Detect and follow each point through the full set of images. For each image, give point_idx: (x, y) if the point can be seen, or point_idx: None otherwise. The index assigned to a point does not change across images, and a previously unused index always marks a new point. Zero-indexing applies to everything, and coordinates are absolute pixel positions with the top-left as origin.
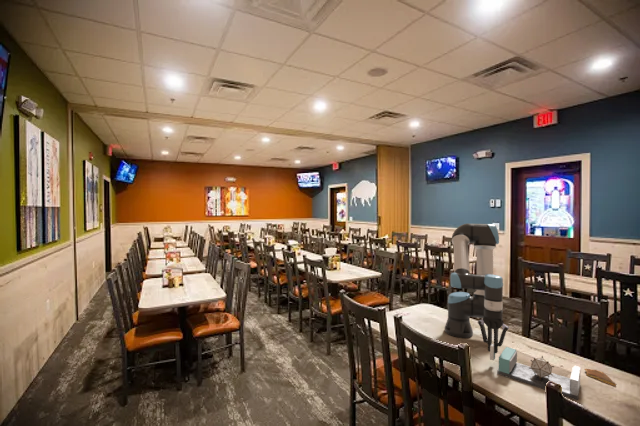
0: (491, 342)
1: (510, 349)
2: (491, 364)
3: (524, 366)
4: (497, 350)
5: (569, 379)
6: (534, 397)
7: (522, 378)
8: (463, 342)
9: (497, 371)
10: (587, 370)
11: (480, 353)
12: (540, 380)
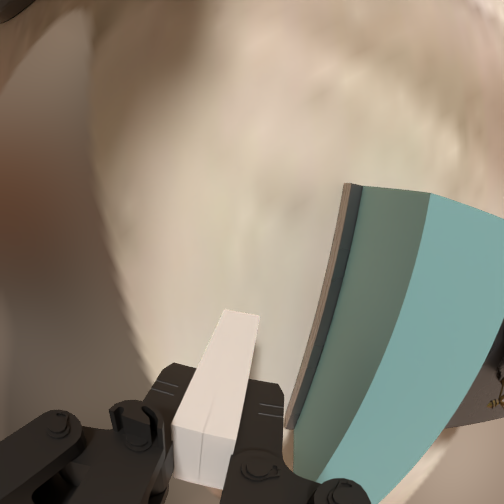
0: (161, 465)
1: (473, 281)
2: (236, 297)
3: None
4: (280, 416)
5: None
6: (414, 476)
7: None
8: (38, 37)
9: (286, 424)
10: None
11: (128, 120)
12: (496, 388)
